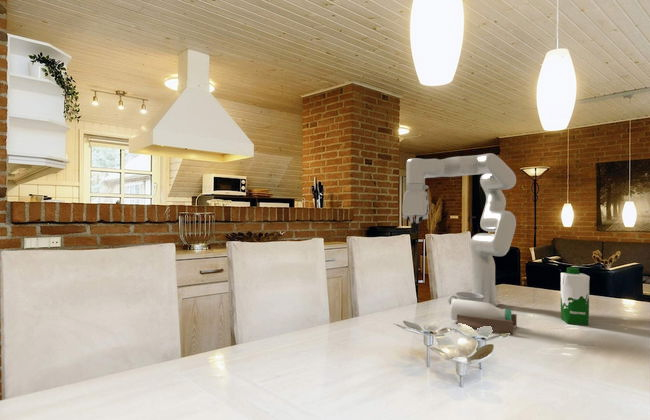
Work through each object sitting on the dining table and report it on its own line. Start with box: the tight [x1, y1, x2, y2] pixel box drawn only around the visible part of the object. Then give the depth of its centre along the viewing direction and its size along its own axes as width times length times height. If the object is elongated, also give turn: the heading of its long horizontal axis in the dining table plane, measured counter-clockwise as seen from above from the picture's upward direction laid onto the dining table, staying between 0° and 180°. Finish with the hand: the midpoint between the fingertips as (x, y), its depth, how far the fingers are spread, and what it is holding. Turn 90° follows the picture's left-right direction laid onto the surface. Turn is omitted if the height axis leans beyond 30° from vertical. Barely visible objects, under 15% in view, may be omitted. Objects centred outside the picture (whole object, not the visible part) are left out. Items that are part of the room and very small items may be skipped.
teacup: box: [447, 291, 484, 306], centre depth 170 cm, size 14×11×8 cm
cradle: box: [456, 313, 518, 336], centre depth 150 cm, size 12×18×4 cm
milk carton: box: [560, 266, 591, 326], centre depth 158 cm, size 9×9×20 cm
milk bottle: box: [450, 298, 513, 322], centre depth 152 cm, size 8×8×20 cm
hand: (415, 232), depth 175 cm, fingers closed
